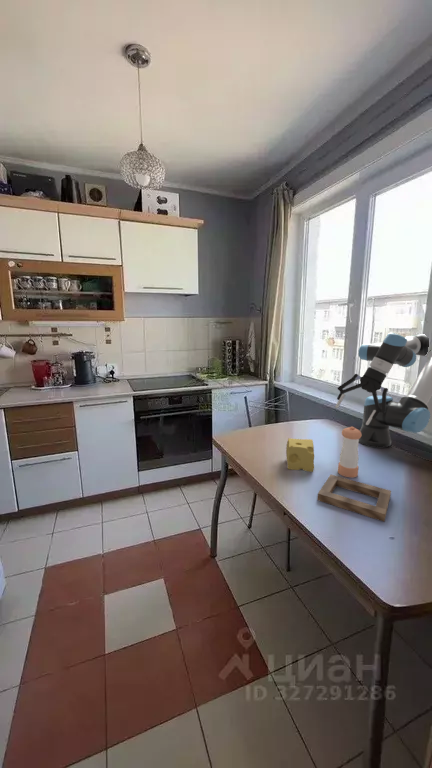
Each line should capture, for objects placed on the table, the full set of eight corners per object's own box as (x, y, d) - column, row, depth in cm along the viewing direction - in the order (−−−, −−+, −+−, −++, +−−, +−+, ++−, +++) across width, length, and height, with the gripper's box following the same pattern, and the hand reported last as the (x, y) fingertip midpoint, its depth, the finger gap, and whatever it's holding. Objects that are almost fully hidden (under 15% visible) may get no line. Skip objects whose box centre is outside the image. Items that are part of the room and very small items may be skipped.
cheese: (313, 472, 124) (315, 448, 122) (285, 469, 126) (287, 446, 124) (311, 461, 134) (313, 439, 132) (285, 458, 136) (286, 436, 134)
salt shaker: (356, 479, 119) (361, 431, 115) (335, 474, 123) (340, 427, 119) (359, 471, 125) (364, 425, 121) (339, 467, 129) (344, 422, 125)
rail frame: (390, 497, 107) (391, 490, 107) (384, 521, 94) (385, 514, 94) (330, 480, 118) (330, 474, 118) (317, 500, 105) (317, 493, 105)
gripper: (347, 356, 131) (322, 400, 135) (409, 384, 117) (379, 432, 122) (351, 358, 137) (327, 401, 141) (410, 385, 123) (382, 431, 128)
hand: (351, 415), depth 132 cm, fingers open, 13 cm apart
